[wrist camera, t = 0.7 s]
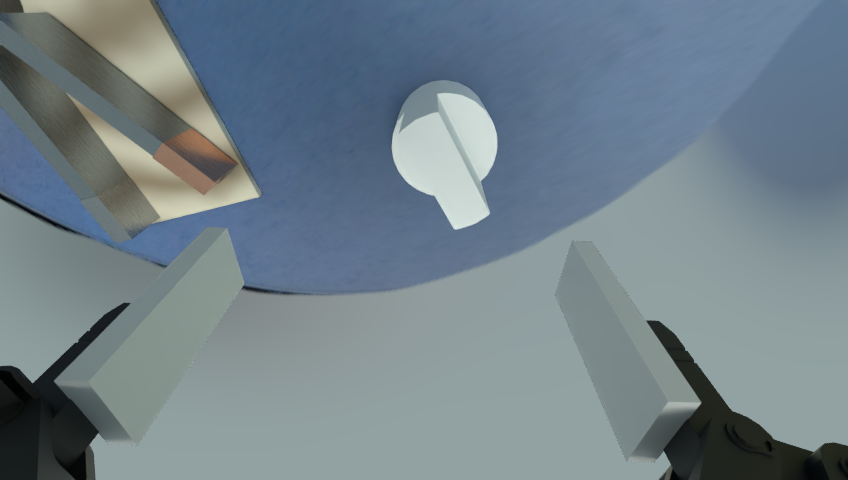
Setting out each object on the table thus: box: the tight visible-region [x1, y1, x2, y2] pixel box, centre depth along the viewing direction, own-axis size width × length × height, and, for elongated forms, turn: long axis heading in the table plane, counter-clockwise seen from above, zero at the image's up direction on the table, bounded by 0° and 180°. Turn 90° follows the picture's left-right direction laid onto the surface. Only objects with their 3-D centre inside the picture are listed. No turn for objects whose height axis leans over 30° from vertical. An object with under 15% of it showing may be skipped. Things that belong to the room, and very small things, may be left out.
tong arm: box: [0, 13, 237, 195], centre depth 32 cm, size 18×2×5 cm, turn 43°
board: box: [0, 0, 262, 224], centre depth 35 cm, size 23×17×1 cm
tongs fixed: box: [0, 0, 160, 243], centre depth 33 cm, size 23×4×5 cm, turn 15°
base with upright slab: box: [392, 80, 497, 229], centre depth 31 cm, size 9×9×12 cm
